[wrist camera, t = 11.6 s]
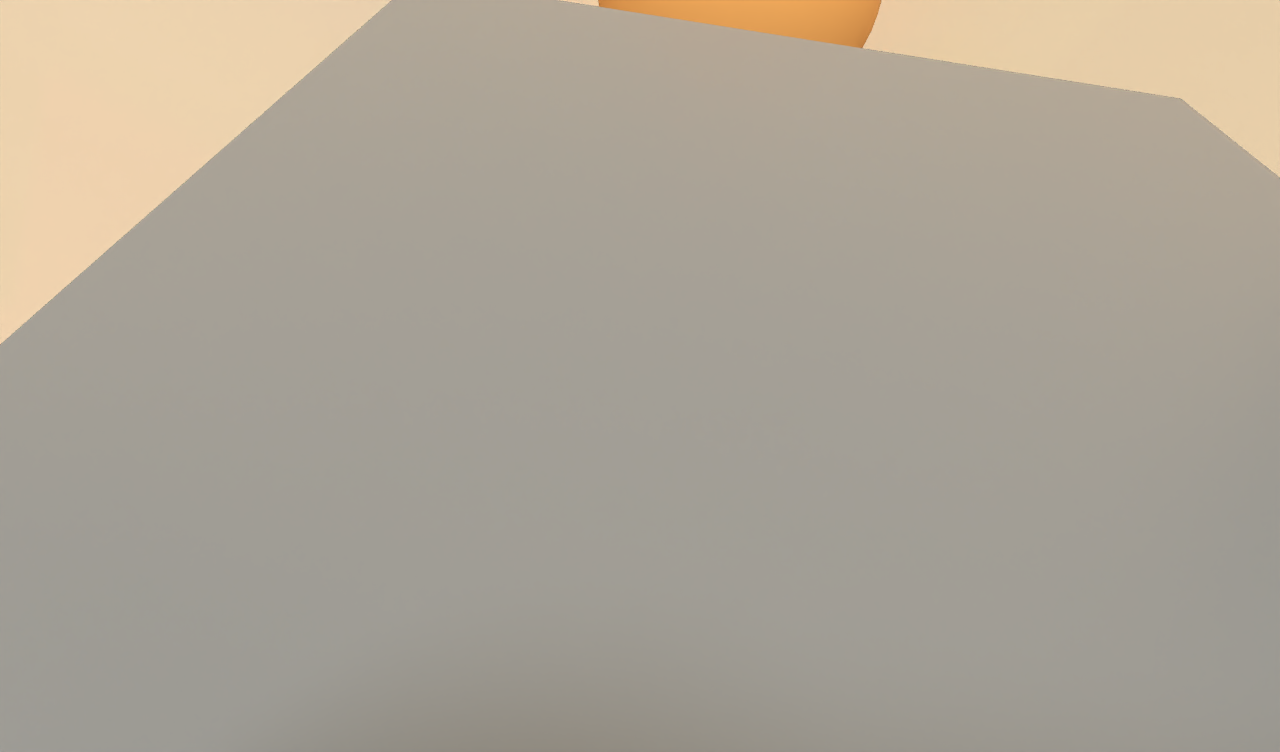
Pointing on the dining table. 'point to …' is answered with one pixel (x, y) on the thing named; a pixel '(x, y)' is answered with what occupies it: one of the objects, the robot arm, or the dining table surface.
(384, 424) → the grey faceted block
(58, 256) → the dining table surface
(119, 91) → the dining table surface
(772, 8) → the ball
